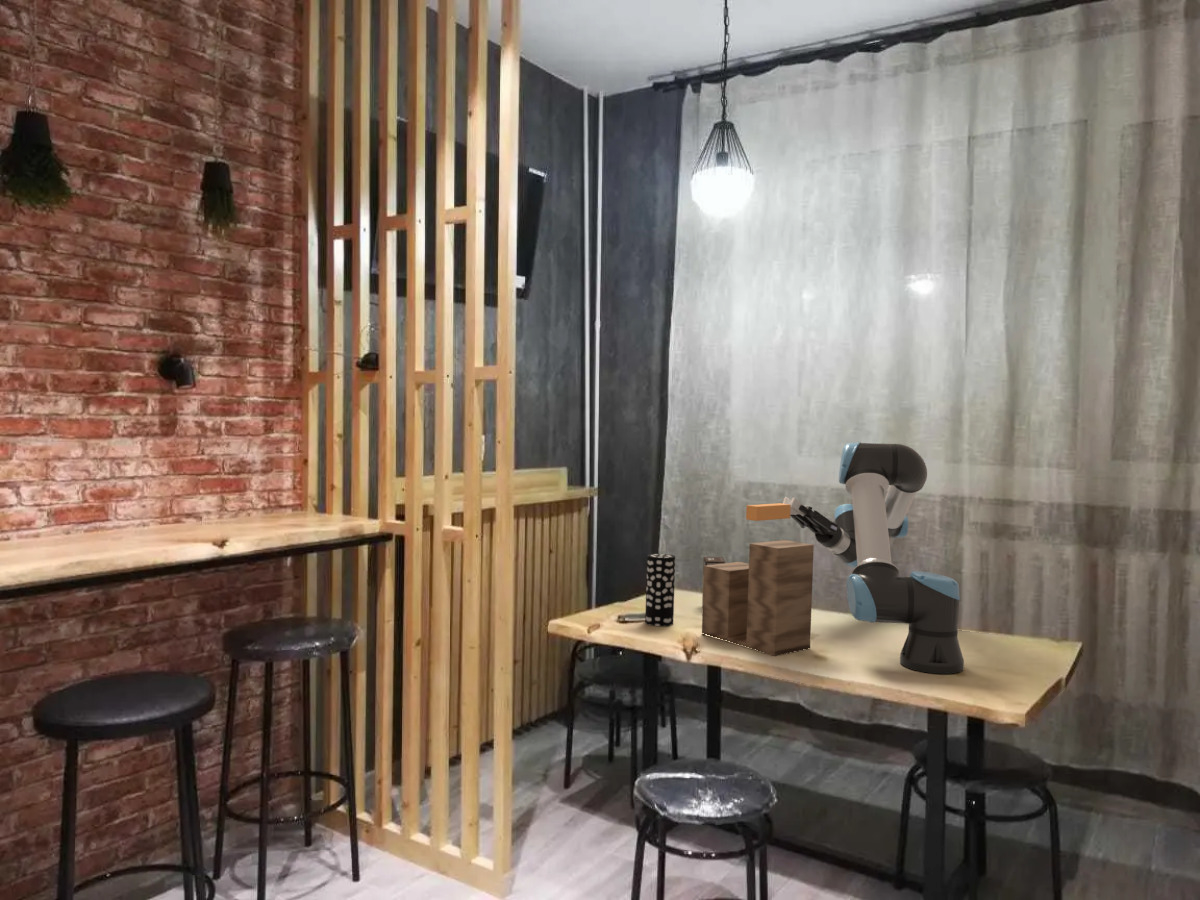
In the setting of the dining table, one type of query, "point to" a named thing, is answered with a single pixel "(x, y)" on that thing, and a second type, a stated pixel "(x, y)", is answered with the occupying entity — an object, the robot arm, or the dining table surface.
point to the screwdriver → (769, 511)
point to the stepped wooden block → (762, 598)
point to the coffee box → (711, 562)
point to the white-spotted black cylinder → (660, 589)
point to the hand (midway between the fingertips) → (788, 501)
